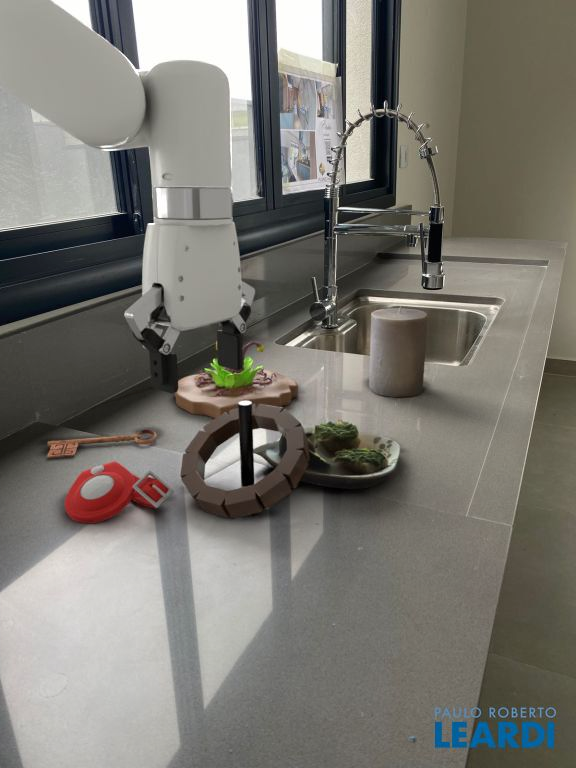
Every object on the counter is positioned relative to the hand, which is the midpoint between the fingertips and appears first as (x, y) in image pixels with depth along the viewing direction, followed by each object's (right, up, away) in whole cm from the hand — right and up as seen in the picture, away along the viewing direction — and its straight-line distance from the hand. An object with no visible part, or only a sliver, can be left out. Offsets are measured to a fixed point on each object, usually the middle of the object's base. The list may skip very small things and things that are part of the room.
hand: (199, 378), depth 63 cm
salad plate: (+15, -11, +15) cm, 24 cm away
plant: (0, -3, +41) cm, 42 cm away
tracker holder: (-10, -15, +6) cm, 19 cm away
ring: (+5, -10, +9) cm, 14 cm away
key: (-17, -9, +23) cm, 30 cm away
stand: (+4, -13, +10) cm, 17 cm away
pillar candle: (+29, -2, +45) cm, 53 cm away
